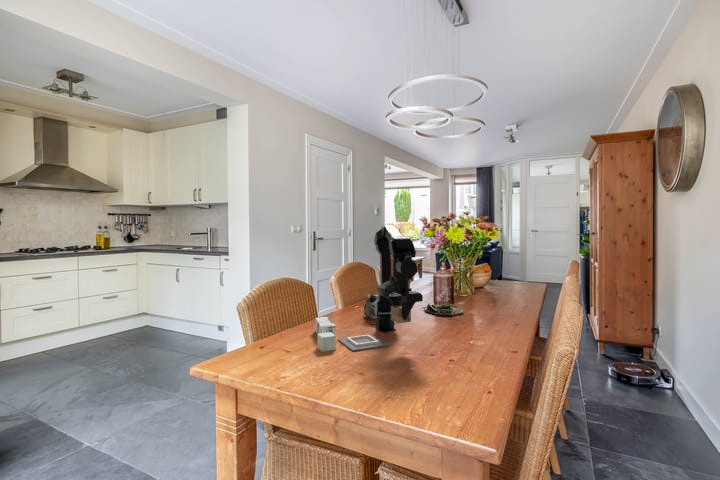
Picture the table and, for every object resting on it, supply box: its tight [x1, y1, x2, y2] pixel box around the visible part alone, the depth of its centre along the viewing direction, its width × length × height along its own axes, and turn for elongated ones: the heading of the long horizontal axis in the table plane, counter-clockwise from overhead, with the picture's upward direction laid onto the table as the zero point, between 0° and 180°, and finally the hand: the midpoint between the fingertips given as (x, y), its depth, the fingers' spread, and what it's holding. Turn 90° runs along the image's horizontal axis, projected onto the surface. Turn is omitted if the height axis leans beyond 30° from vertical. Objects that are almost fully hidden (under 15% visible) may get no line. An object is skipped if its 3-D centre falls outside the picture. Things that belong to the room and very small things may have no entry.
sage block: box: [316, 332, 337, 352], centre depth 132 cm, size 5×5×5 cm
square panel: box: [337, 333, 390, 353], centre depth 138 cm, size 14×14×1 cm
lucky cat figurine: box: [363, 293, 379, 321], centre depth 175 cm, size 15×12×14 cm
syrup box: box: [314, 316, 337, 336], centre depth 147 cm, size 6×6×14 cm
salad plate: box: [422, 302, 464, 318], centre depth 187 cm, size 19×18×5 cm
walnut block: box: [391, 305, 412, 324], centre depth 131 cm, size 5×5×5 cm
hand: (400, 317), depth 131 cm, fingers closed on walnut block, 5 cm apart
